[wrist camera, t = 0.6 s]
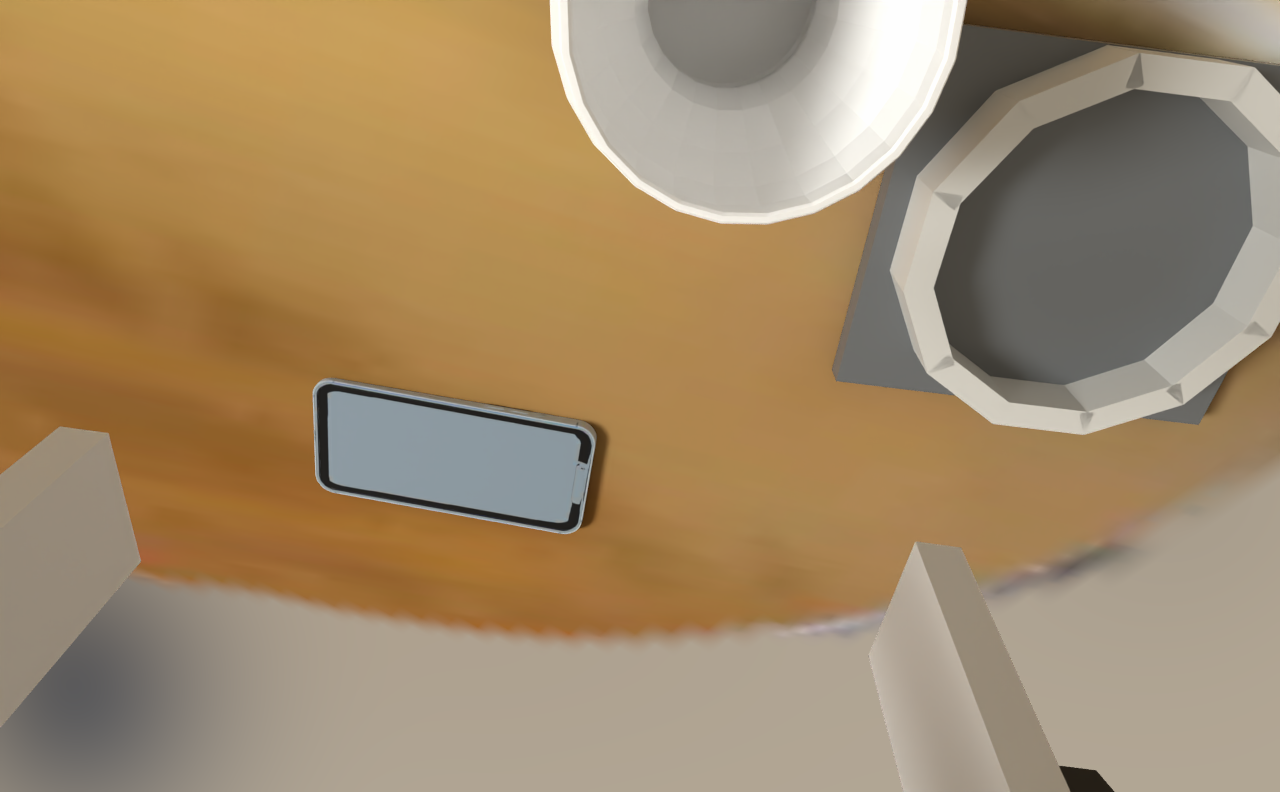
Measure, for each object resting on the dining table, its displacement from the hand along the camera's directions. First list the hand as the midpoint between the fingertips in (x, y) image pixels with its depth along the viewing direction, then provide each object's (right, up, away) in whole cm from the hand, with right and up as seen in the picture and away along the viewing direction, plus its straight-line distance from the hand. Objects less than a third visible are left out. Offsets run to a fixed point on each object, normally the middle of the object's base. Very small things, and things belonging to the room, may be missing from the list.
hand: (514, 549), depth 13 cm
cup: (+6, +19, +18) cm, 27 cm away
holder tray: (+22, +10, +23) cm, 33 cm away
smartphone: (-8, 0, +31) cm, 32 cm away
